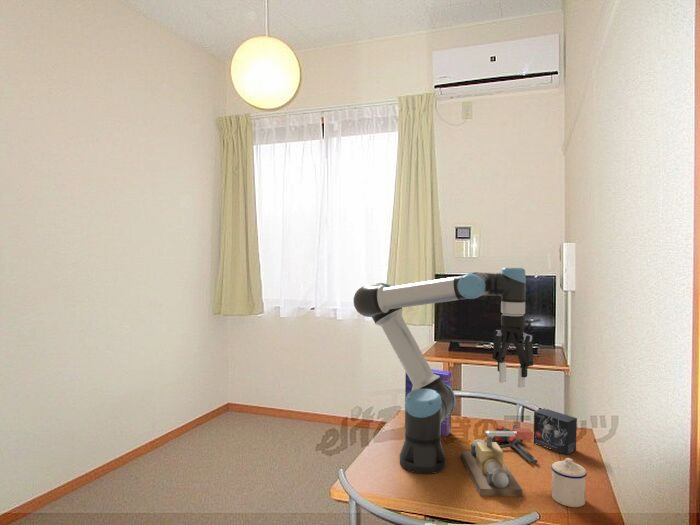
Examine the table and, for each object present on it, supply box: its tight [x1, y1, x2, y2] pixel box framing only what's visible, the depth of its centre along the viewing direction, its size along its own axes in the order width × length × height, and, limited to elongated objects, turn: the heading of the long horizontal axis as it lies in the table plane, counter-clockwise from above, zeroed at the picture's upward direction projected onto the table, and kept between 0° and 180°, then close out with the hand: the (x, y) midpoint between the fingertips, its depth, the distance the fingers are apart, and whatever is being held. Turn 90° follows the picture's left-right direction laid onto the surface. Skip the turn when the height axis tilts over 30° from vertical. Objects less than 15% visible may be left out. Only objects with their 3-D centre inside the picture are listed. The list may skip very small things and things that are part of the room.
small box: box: [533, 407, 578, 456], centre depth 170 cm, size 13×7×12 cm, turn 37°
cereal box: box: [404, 368, 453, 438], centre depth 185 cm, size 17×5×24 cm, turn 59°
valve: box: [484, 424, 538, 464], centre depth 168 cm, size 6×26×15 cm
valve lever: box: [484, 427, 534, 441], centre depth 147 cm, size 14×3×2 cm, turn 89°
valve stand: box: [460, 437, 523, 497], centre depth 148 cm, size 12×26×12 cm, turn 179°
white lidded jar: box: [551, 457, 588, 508], centre depth 134 cm, size 12×9×12 cm
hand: (511, 384), depth 154 cm, fingers open, 6 cm apart
